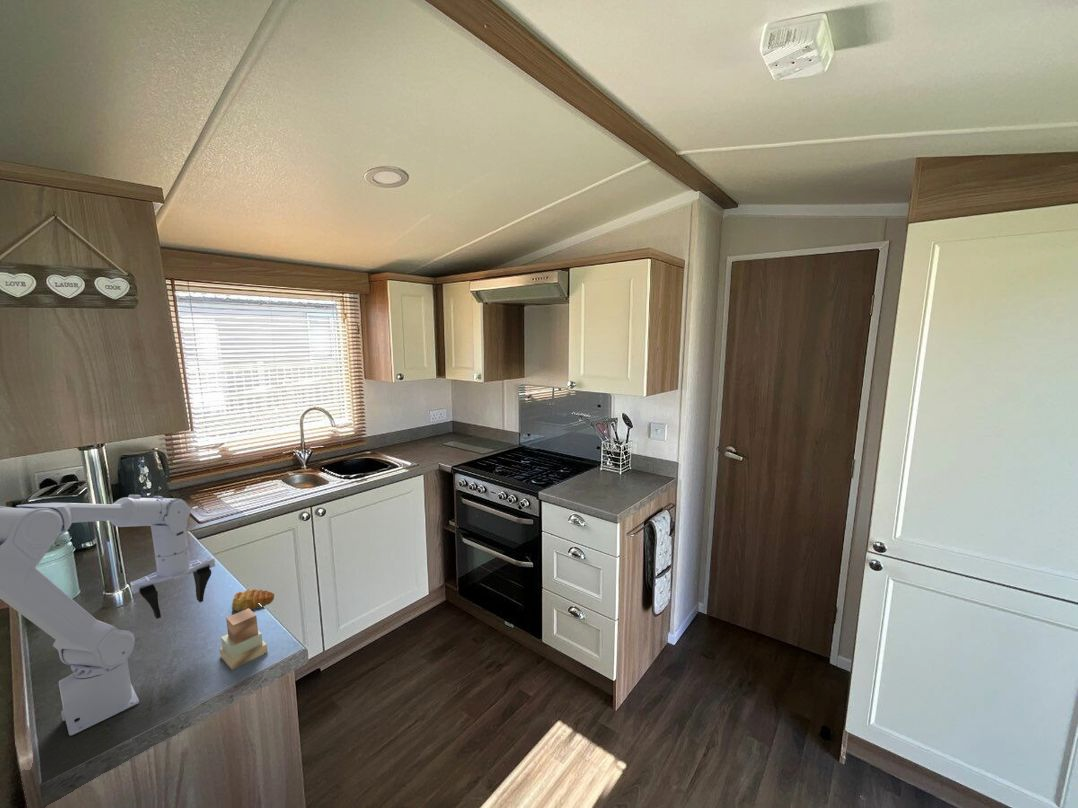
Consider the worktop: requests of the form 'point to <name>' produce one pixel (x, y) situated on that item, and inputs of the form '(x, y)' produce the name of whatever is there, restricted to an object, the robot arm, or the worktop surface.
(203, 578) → the robot arm
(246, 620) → the terracotta cube
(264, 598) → the pastry
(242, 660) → the oak slab
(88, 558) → the worktop surface
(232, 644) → the sage slab
